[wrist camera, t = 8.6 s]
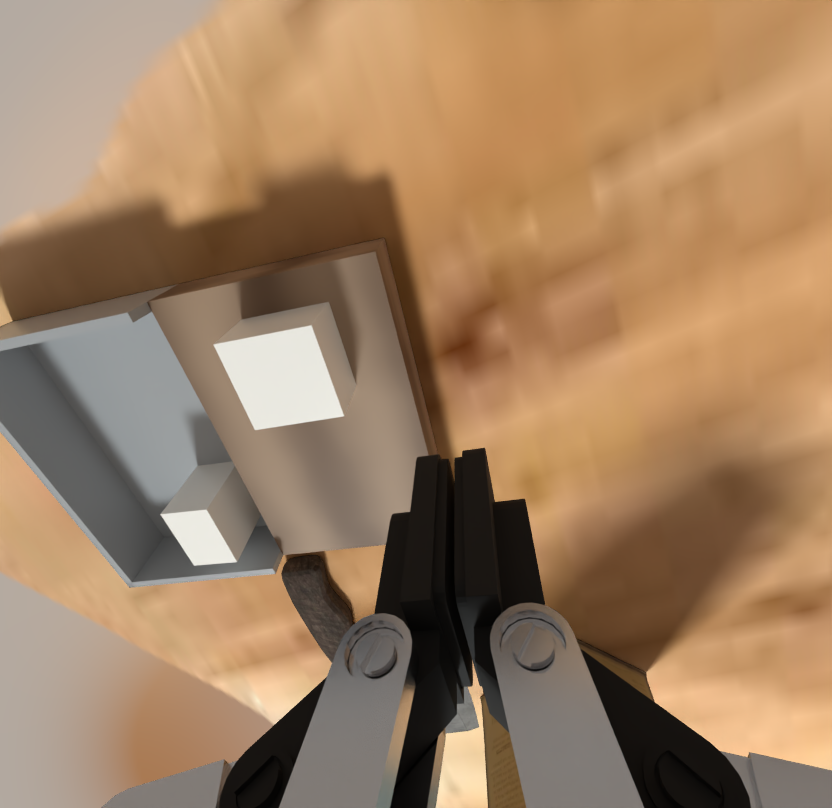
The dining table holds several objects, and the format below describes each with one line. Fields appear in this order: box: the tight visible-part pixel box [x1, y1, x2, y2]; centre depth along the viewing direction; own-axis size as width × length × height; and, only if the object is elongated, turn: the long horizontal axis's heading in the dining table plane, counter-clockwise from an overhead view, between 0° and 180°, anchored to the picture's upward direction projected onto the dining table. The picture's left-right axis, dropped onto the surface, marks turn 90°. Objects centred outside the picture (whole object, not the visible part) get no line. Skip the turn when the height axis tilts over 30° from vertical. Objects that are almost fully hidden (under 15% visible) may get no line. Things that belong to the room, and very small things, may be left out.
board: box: [147, 238, 438, 555], centre depth 26 cm, size 12×18×3 cm, turn 12°
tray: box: [0, 284, 283, 588], centre depth 28 cm, size 11×18×4 cm, turn 12°
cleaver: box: [282, 555, 479, 733], centre depth 41 cm, size 30×10×2 cm, turn 23°
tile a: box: [160, 462, 261, 566], centre depth 29 cm, size 4×4×3 cm
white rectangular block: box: [213, 302, 356, 430], centre depth 21 cm, size 4×4×3 cm
